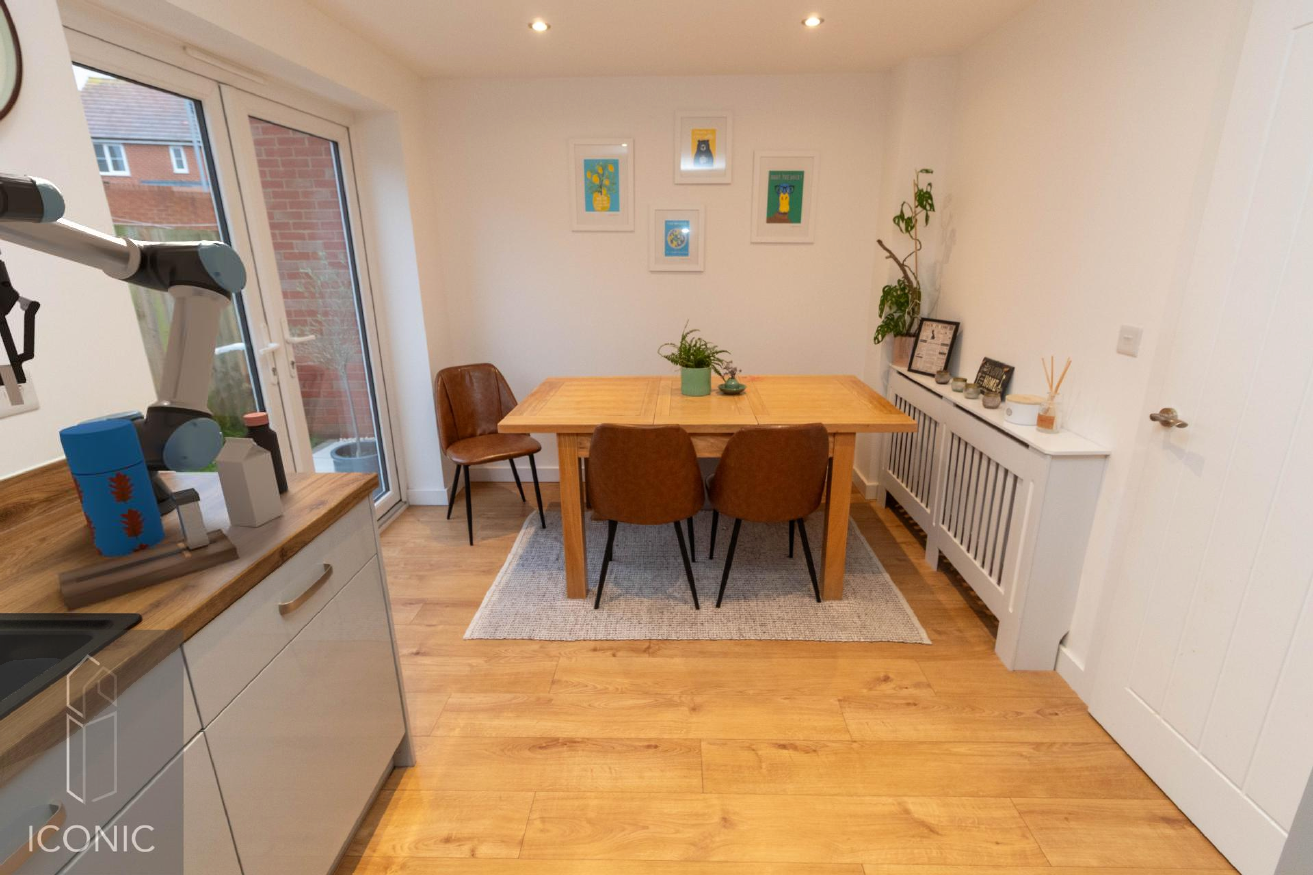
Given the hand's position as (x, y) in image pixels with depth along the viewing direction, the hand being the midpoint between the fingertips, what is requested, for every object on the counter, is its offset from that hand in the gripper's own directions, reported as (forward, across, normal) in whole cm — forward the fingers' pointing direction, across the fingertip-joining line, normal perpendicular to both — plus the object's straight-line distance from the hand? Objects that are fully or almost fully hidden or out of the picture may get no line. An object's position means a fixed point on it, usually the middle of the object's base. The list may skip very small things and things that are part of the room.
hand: (17, 403), depth 99 cm
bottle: (+33, +37, +18) cm, 52 cm away
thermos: (+33, +9, +8) cm, 35 cm away
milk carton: (+33, +30, +2) cm, 44 cm away
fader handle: (+29, +17, -10) cm, 36 cm away
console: (+32, +10, -10) cm, 35 cm away
